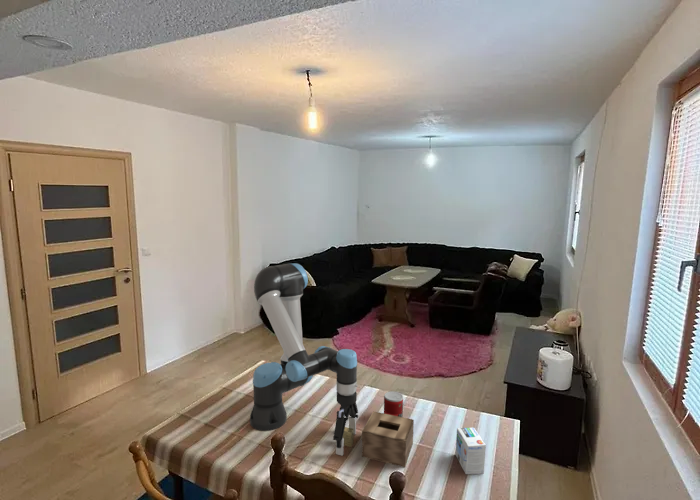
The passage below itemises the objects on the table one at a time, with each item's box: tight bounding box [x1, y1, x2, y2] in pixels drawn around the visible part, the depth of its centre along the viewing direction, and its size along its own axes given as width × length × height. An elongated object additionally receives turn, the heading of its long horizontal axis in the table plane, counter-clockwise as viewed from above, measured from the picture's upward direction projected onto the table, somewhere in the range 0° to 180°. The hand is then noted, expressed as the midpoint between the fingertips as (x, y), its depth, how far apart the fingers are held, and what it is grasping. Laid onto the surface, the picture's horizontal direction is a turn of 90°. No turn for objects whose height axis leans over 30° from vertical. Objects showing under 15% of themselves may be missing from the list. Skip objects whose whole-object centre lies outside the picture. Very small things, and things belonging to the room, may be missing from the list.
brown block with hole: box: [361, 411, 415, 468], centre depth 145 cm, size 16×14×10 cm
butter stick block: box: [343, 426, 354, 448], centre depth 149 cm, size 5×2×6 cm, turn 70°
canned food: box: [383, 390, 404, 418], centre depth 165 cm, size 8×8×11 cm
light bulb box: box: [455, 427, 487, 475], centre depth 138 cm, size 11×7×11 cm, turn 5°
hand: (346, 443), depth 150 cm, fingers open, 13 cm apart
